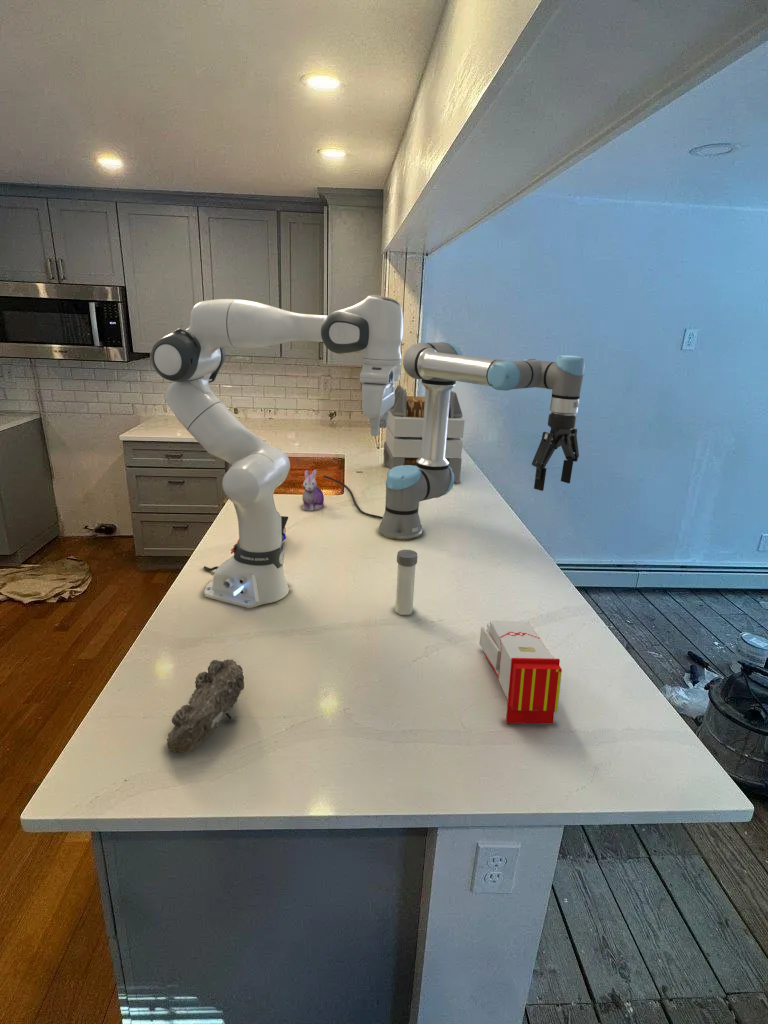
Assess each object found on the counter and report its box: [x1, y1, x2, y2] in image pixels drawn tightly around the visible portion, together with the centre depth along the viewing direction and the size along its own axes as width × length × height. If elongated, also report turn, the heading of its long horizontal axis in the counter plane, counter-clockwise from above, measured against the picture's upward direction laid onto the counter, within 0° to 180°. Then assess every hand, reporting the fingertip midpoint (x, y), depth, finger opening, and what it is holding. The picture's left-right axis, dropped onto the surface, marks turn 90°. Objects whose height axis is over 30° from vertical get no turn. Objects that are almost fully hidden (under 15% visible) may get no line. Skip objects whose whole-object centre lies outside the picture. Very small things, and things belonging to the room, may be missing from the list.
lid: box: [396, 549, 418, 566], centre depth 144 cm, size 5×5×2 cm
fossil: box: [166, 658, 245, 754], centre depth 106 cm, size 22×10×15 cm
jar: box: [394, 563, 417, 616], centre depth 146 cm, size 4×4×16 cm
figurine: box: [302, 469, 325, 511], centre depth 219 cm, size 9×10×15 cm
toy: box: [478, 620, 563, 725], centre depth 121 cm, size 12×13×30 cm
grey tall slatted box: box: [383, 384, 465, 484], centre depth 268 cm, size 34×33×41 cm
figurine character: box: [281, 515, 289, 543], centre depth 186 cm, size 7×8×15 cm
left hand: (379, 431), depth 134 cm, fingers open, 8 cm apart
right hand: (552, 485), depth 166 cm, fingers open, 13 cm apart
